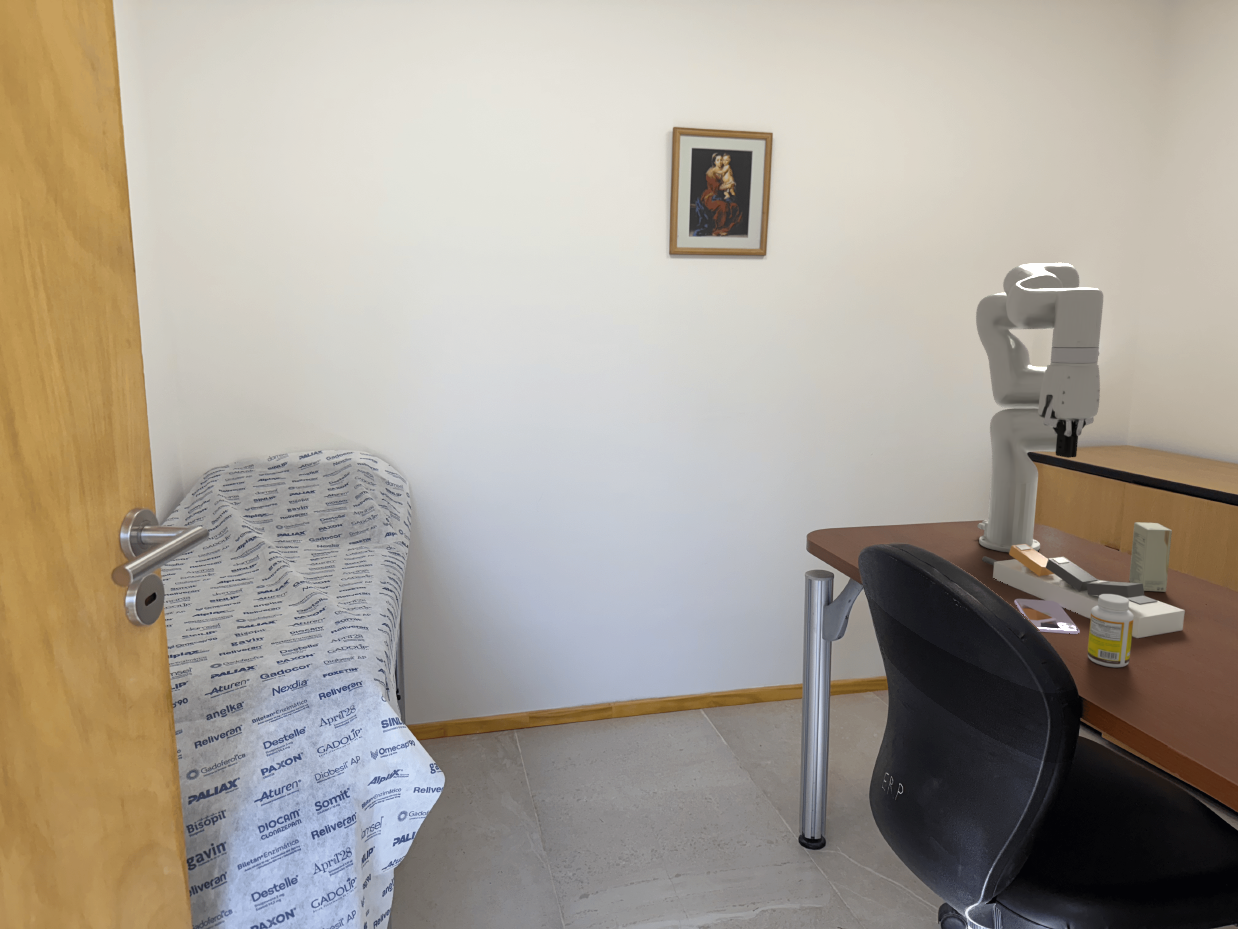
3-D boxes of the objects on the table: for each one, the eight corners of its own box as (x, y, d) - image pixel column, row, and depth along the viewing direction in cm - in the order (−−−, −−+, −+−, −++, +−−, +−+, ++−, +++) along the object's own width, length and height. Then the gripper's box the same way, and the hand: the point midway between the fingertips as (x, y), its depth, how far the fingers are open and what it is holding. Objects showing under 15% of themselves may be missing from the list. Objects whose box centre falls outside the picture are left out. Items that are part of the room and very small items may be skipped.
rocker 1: (1008, 554, 158) (1011, 544, 157) (1023, 552, 159) (1026, 543, 158) (1039, 576, 151) (1042, 566, 150) (1053, 574, 152) (1057, 564, 151)
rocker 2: (1045, 567, 149) (1048, 557, 148) (1060, 565, 150) (1063, 555, 149) (1079, 591, 142) (1082, 581, 141) (1094, 589, 143) (1098, 579, 142)
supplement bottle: (1111, 652, 126) (1118, 591, 124) (1137, 667, 120) (1144, 603, 119) (1078, 654, 125) (1084, 592, 124) (1102, 670, 120) (1109, 605, 118)
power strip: (964, 567, 169) (966, 546, 168) (1003, 561, 172) (1004, 541, 171) (1137, 638, 131) (1140, 611, 130) (1182, 630, 134) (1185, 604, 133)
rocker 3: (1087, 594, 141) (1086, 582, 141) (1103, 592, 142) (1101, 580, 142) (1128, 597, 133) (1126, 585, 133) (1144, 595, 134) (1142, 582, 134)
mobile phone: (1058, 600, 147) (1082, 631, 133) (1057, 605, 147) (1081, 636, 133) (1013, 596, 149) (1032, 627, 135) (1012, 601, 149) (1031, 632, 135)
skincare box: (1166, 592, 152) (1174, 530, 149) (1141, 591, 152) (1148, 529, 150) (1151, 581, 158) (1158, 522, 155) (1127, 580, 159) (1133, 521, 156)
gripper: (1088, 355, 151) (1079, 450, 155) (1025, 357, 147) (1018, 456, 150) (1123, 356, 144) (1114, 456, 148) (1059, 359, 140) (1050, 462, 143)
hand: (1065, 456), depth 149 cm, fingers closed
